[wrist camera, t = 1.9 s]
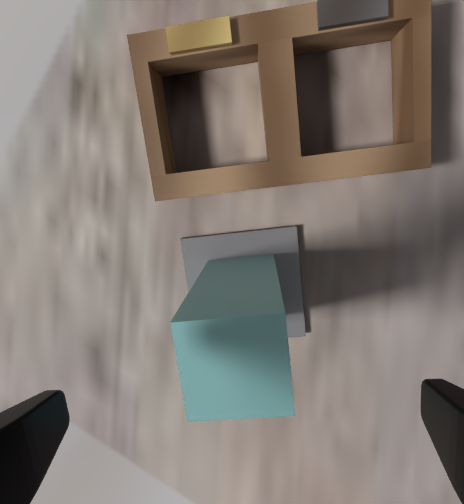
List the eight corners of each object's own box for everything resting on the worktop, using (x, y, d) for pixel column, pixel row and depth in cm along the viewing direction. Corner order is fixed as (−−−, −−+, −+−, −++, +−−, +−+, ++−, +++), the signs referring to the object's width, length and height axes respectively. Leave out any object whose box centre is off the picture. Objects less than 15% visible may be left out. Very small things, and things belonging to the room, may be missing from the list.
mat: (295, 225, 20) (296, 226, 20) (304, 333, 21) (305, 336, 21) (181, 238, 21) (180, 239, 20) (198, 341, 22) (197, 344, 22)
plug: (273, 253, 20) (285, 312, 11) (279, 316, 21) (295, 415, 12) (207, 260, 20) (170, 322, 12) (216, 321, 21) (187, 421, 12)
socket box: (406, 9, 17) (435, -24, 14) (408, 168, 19) (435, 167, 16) (144, 53, 19) (123, 31, 16) (167, 198, 20) (152, 201, 17)
